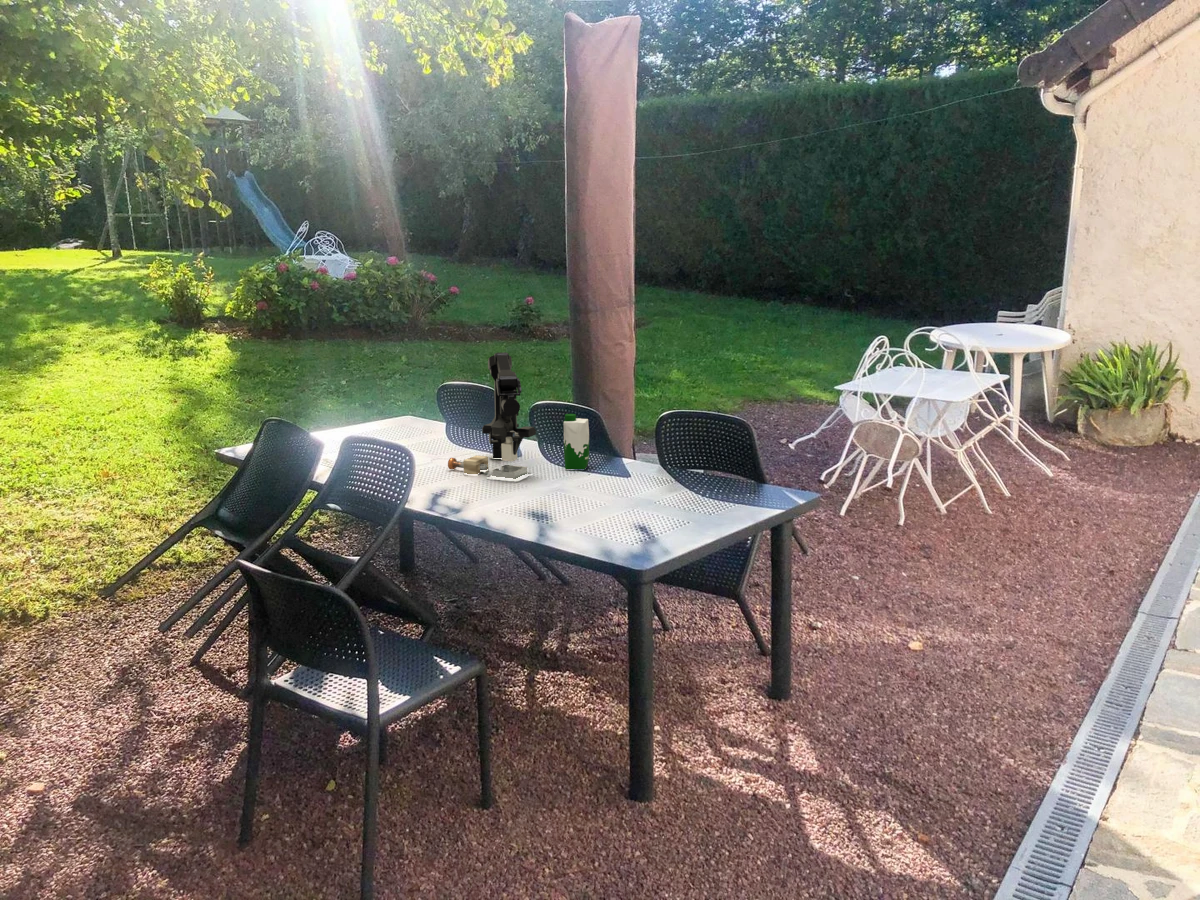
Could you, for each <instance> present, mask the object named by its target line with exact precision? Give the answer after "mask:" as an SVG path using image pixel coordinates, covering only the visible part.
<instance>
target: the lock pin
mask: <svg viewBox="0 0 1200 900" xmlns="http://www.w3.org/2000/svg"><path fill="white" fill-rule="evenodd" d="M447 467H448V469H449V470H452V469H454V470H456V468H458V469H459V468H461V469H464V463H463V461H461V460H460V461H458V460H457V459H456V458H455V457H450V458H449V459H448V461H447ZM480 470H487V465H486V464H480Z"/></svg>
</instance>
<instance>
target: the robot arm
mask: <svg viewBox="0 0 1200 900" xmlns="http://www.w3.org/2000/svg"><path fill="white" fill-rule="evenodd" d="M512 367H513V361H512V356H511V355H509V353H507V352H495V353H494V355H491V356H489V357H488V360H487V370H489V373H490V376H491V377H492V379H493V384H494V385H493V386H494V388H493V389H494V390H493V392H494V417H493V418H492V420H491V422H490V423H486V424H484V425H483V426H482V427H481V429H482V431H481V432H482V434H486V435H487V434H488V442H489V445H492V456H493V458H502V449H501V444H502V443H505V442H506V437H512V439H513V453H514V455H516V453H517V454H518V451H519V447H520V445H521V443H522V442H523V439H524V438H530V437H533V436H535V435H536V434H537V433H536V432H537V431H536V428H535V427H534V426H522V427H520V428H519V426H520V424H519V423H518V416H519V414H520V413H519V412H520V410H521V404H520V403H519V401H518V400H517V396H521V394H522V385H521V380H520V378H519V377H517V374H516V372H515V371H512Z"/></svg>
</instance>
